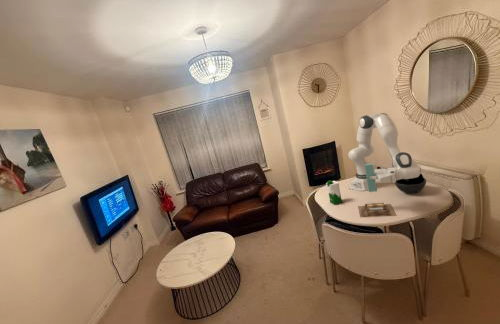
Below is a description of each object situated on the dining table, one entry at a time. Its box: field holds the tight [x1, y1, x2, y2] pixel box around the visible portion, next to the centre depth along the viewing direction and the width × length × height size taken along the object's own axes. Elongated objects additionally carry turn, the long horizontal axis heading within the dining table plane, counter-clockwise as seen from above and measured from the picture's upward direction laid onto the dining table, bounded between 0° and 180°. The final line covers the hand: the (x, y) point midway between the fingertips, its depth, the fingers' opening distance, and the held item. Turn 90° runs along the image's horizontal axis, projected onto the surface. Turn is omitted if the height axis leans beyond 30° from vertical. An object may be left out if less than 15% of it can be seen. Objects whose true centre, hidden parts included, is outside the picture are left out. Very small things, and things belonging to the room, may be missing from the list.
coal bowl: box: [394, 173, 427, 194], centre depth 171 cm, size 20×20×19 cm
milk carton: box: [325, 180, 343, 206], centre depth 186 cm, size 9×9×20 cm
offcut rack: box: [357, 202, 398, 218], centre depth 157 cm, size 22×18×4 cm
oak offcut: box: [367, 203, 384, 209], centre depth 156 cm, size 10×2×5 cm, turn 68°
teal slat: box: [365, 163, 378, 193], centre depth 156 cm, size 5×2×20 cm, turn 68°
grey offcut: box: [370, 207, 383, 211], centre depth 153 cm, size 8×2×4 cm, turn 68°
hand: (369, 176), depth 156 cm, fingers closed on teal slat, 2 cm apart
